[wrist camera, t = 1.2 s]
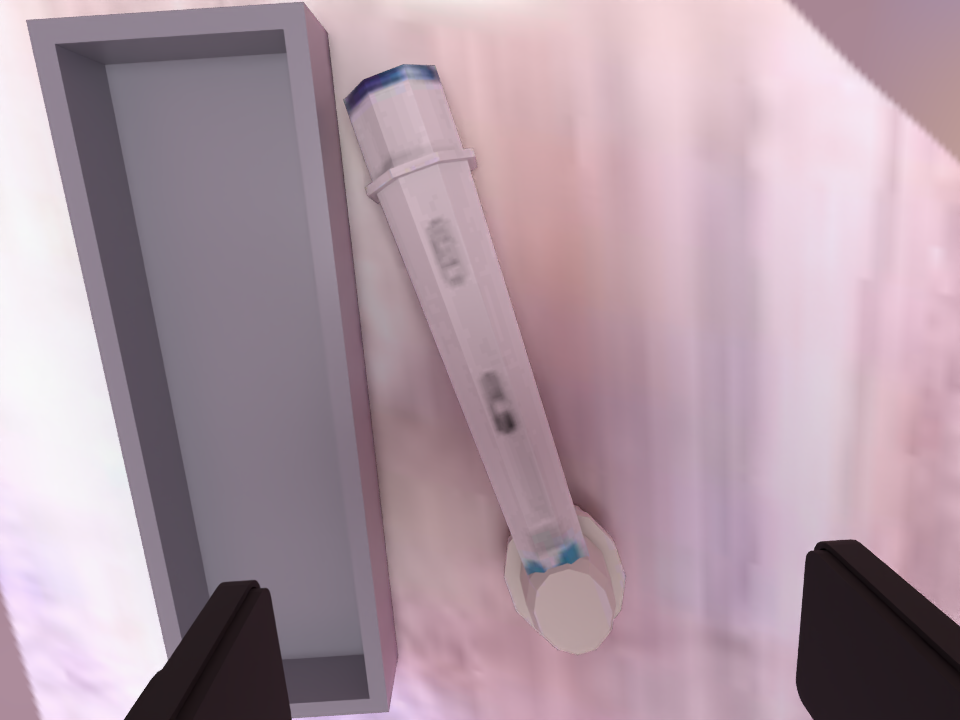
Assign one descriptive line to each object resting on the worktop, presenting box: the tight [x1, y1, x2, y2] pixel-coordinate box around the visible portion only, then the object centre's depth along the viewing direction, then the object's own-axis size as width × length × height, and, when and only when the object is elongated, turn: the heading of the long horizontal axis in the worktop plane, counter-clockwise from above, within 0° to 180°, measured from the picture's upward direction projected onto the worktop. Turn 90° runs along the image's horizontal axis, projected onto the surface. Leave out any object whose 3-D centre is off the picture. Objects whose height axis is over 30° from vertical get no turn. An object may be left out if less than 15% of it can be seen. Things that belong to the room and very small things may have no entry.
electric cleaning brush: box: [344, 64, 626, 655], centre depth 25 cm, size 5×7×25 cm
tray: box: [26, 2, 398, 718], centre depth 26 cm, size 30×10×4 cm, turn 4°
